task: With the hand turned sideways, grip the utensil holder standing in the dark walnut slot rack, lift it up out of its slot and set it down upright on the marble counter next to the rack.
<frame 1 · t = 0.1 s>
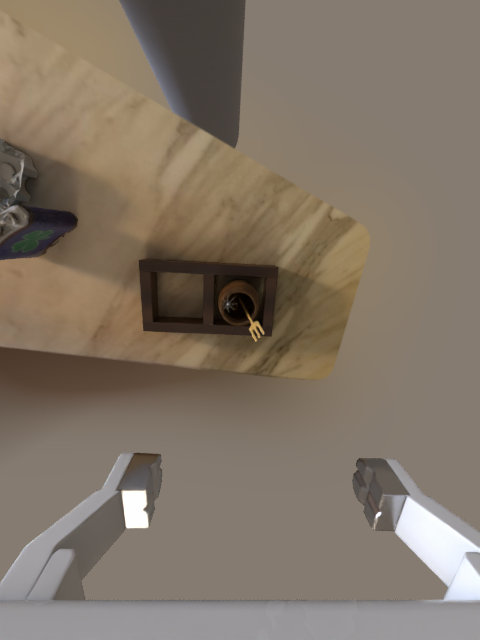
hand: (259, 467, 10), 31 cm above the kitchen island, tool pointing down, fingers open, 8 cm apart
rack: (210, 296, 40), on the kitchen island
utensil holder: (238, 297, 40), resting in rack
egg carton: (7, 185, 34), on the kitchen island
flask: (52, 234, 36), on the kitchen island
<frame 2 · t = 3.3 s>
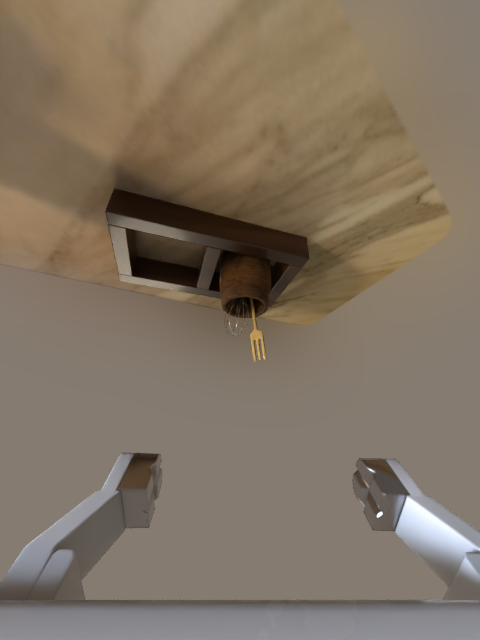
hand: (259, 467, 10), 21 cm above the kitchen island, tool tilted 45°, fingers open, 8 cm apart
rack: (209, 250, 30), on the kitchen island
utensil holder: (246, 257, 31), resting in rack
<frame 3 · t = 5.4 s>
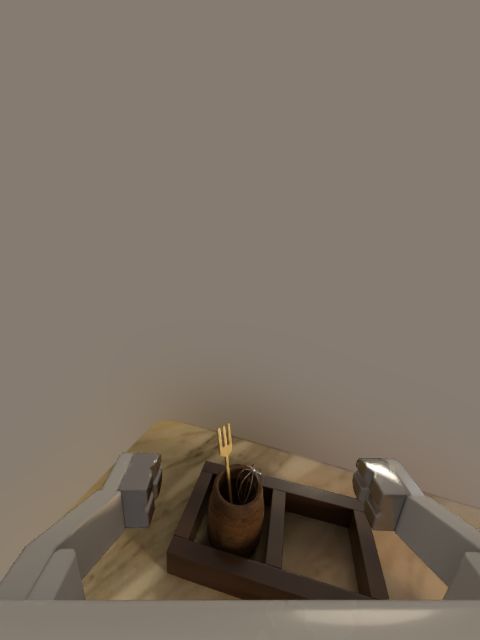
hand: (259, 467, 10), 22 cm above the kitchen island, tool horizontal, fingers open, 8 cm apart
rack: (273, 542, 27), on the kitchen island
utensil holder: (233, 531, 28), resting in rack
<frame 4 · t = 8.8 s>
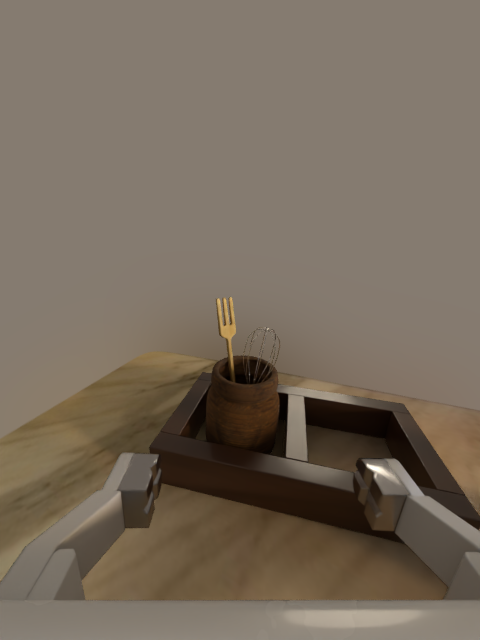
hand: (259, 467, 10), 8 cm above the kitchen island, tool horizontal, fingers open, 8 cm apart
rack: (291, 451, 21), on the kitchen island
utensil holder: (239, 442, 22), resting in rack
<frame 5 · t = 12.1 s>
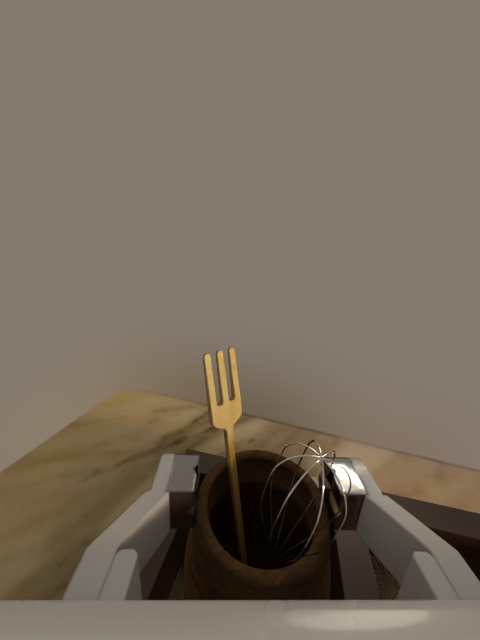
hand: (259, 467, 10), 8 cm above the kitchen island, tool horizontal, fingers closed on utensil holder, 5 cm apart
utensil holder: (247, 610, 12), resting in rack, touching gripper
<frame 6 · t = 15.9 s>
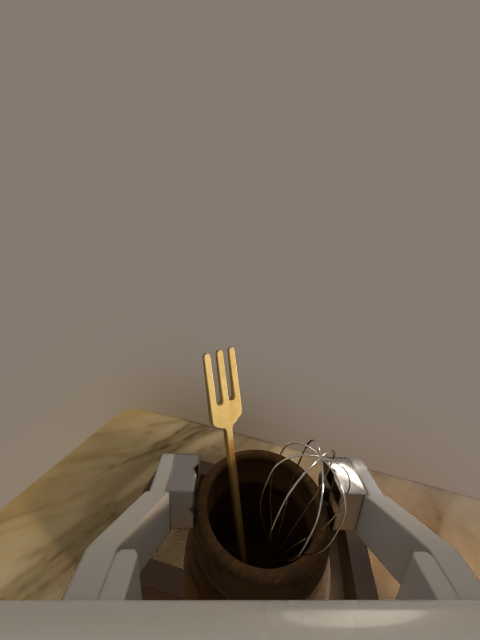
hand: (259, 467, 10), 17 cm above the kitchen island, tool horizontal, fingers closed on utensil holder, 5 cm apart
rack: (242, 551, 22), on the kitchen island
utensil holder: (247, 609, 12), point 9 cm above the kitchen island, touching gripper
when the fingers open (8 cm above the kitchen island, at t = 19.9 s): utensil holder stays where it is, on the kitchen island.
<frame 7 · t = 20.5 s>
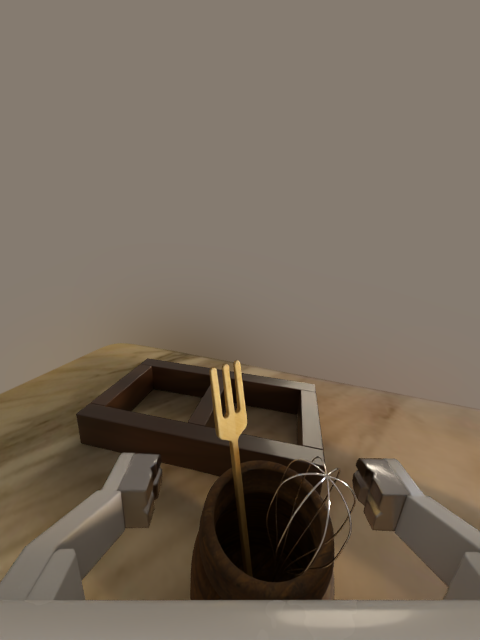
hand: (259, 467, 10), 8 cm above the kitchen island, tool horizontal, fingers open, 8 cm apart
rack: (210, 423, 24), on the kitchen island
utensil holder: (252, 617, 12), on the kitchen island
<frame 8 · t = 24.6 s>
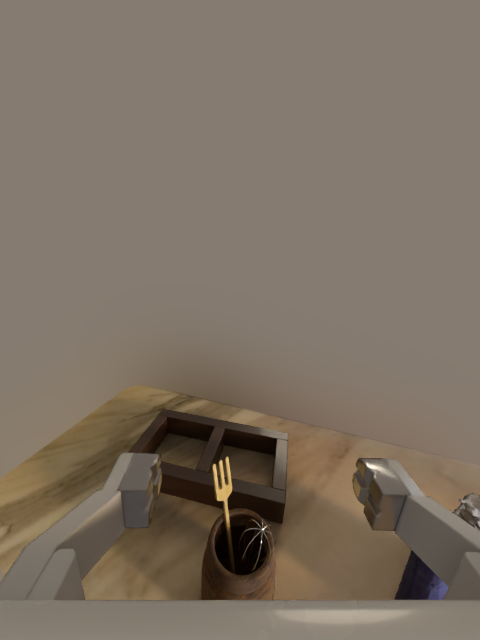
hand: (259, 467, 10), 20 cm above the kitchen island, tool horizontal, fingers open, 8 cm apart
rack: (211, 464, 34), on the kitchen island
utensil holder: (235, 596, 22), on the kitchen island
flask: (431, 598, 22), on the kitchen island
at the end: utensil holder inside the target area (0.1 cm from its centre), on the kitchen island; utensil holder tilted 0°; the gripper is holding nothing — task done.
